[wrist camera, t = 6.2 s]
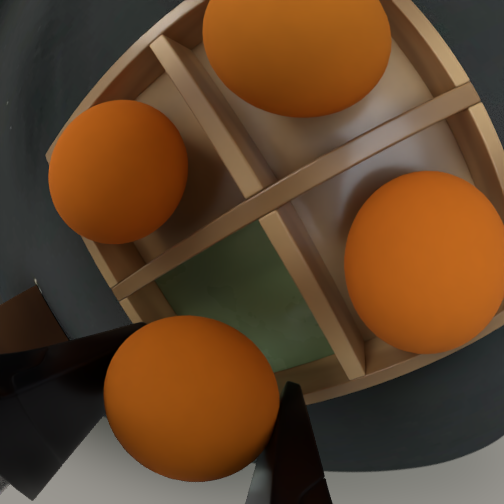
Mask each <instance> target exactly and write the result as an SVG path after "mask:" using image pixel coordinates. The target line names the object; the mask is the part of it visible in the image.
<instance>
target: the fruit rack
mask: <svg viewBox="0 0 504 504" xmlns="http://www.w3.org/2000/svg"><path fill="white" fill-rule="evenodd" d="M209 1H210V0H185V1H183V2H182V3H181V4H179V5H178V6H177V7H175V8H174V9H173V10H172V11H170V12H169V13H168V14H167V15H166V16H164V17H163V18H162V19H161V20H160V21H158V22H157V23H156V24H155V25H154V26H153V27H151V28H150V29H149V30H148V31H147V32H146V33H145V34H144V35H143V36H142V37H140V38H139V39H138V40H137V41H136V42H135V43H134V44H133V45H132V46H131V47H130V48H129V49H128V50H127V51H126V52H125V53H124V54H123V55H122V56H121V57H120V58H119V59H118V60H117V61H116V62H115V63H114V65H113V66H112V67H111V68H110V69H109V70H108V71H107V72H106V73H105V74H104V76H103V77H102V78H101V79H100V80H99V81H98V83H97V84H96V85H95V86H94V87H93V89H92V90H91V91H90V92H89V93H88V95H87V96H86V97H85V98H84V100H83V101H82V102H81V104H80V105H79V106H78V108H77V109H76V110H75V112H74V113H73V114H72V116H71V117H70V118H69V120H68V121H67V123H66V124H65V126H64V127H63V128H62V130H61V131H60V133H59V134H58V136H57V137H56V139H55V141H54V142H53V144H52V145H51V147H50V148H49V150H48V152H47V153H46V158H47V161H48V164H49V165H50V160H51V156H52V153H53V150H54V148H55V145H56V143H57V141H58V139H59V137H60V136H61V134H62V133H63V131H64V130H65V129H66V127H67V126H68V125H69V124H70V123H71V122H72V121H73V120H74V119H75V118H76V117H77V116H78V115H80V114H81V113H83V112H84V111H86V110H87V109H89V108H91V107H93V106H95V105H98V104H101V103H104V102H107V101H113V100H133V101H138V102H142V103H145V104H148V105H150V106H152V107H154V108H156V109H157V110H159V111H160V112H162V113H163V114H164V115H166V116H167V117H168V118H169V120H170V121H171V122H172V123H173V124H174V125H175V127H176V128H177V129H178V131H179V133H180V135H181V137H182V139H183V142H184V145H185V147H186V152H187V157H188V177H187V183H186V187H185V190H184V193H183V196H182V198H181V200H180V203H179V205H178V206H177V208H176V209H175V211H174V212H173V214H172V215H171V216H170V218H169V219H168V220H167V221H166V222H165V223H164V224H163V225H162V226H160V227H159V228H158V229H157V230H156V231H154V232H152V233H151V234H149V235H147V236H146V237H144V238H141V239H139V240H136V241H133V242H129V243H124V244H103V243H98V242H95V241H92V240H89V239H87V238H85V237H83V236H81V237H82V239H83V241H84V243H85V245H86V247H87V248H88V250H89V252H90V254H91V256H92V258H93V259H94V261H95V263H96V265H97V266H98V268H99V270H100V272H101V273H102V275H103V277H104V279H105V280H106V282H107V284H108V285H109V287H110V288H112V291H113V293H114V295H115V296H116V298H117V299H118V301H120V304H121V306H122V307H123V309H124V311H125V312H126V314H127V315H128V317H129V318H130V320H131V321H132V323H133V324H135V323H138V322H145V323H147V324H149V323H151V322H154V321H157V320H160V319H163V318H167V317H173V316H185V315H191V316H200V317H206V318H210V319H214V320H217V321H220V322H223V323H225V324H227V325H229V326H231V327H233V328H235V329H236V330H238V331H239V332H241V333H242V334H244V335H245V336H246V337H248V338H249V339H250V340H251V341H252V342H253V343H254V344H255V345H256V346H257V347H258V348H259V349H260V351H261V352H262V353H263V355H264V356H265V357H266V359H267V361H268V362H269V364H270V366H271V368H272V370H273V373H274V375H275V378H276V381H277V385H278V390H279V396H280V394H281V392H282V390H283V388H284V385H285V383H286V382H287V381H292V382H295V383H298V384H300V386H301V389H302V393H303V396H304V400H305V404H306V405H309V404H313V403H317V402H321V401H325V400H328V399H332V398H336V397H339V396H343V395H346V394H349V393H353V392H356V391H359V390H362V389H365V388H368V387H371V386H374V385H377V384H380V383H383V382H386V381H388V380H391V379H394V378H396V377H399V376H402V375H404V374H407V373H409V372H412V371H414V370H416V369H419V368H421V367H423V366H426V365H428V364H430V363H433V362H435V361H437V360H439V359H441V358H443V357H446V356H448V355H450V354H452V353H454V352H456V351H458V350H460V349H462V348H464V347H466V346H468V345H469V344H471V343H473V342H475V341H477V340H479V339H480V338H482V337H484V336H486V335H488V334H489V333H491V332H493V331H494V330H496V329H498V328H499V327H501V326H503V325H504V298H503V301H502V303H501V305H500V307H499V309H498V311H497V312H496V314H495V316H494V317H493V319H492V320H491V321H490V323H489V324H488V325H487V326H486V327H485V328H484V329H483V330H482V331H481V332H480V333H479V334H478V335H477V336H476V337H474V338H473V339H472V340H470V341H469V342H467V343H465V344H464V345H462V346H460V347H457V348H455V349H452V350H449V351H446V352H442V353H436V354H416V353H411V352H406V351H403V350H400V349H397V348H395V347H393V346H391V345H389V344H387V343H386V342H384V341H383V340H381V339H380V338H379V337H377V336H376V335H375V334H374V333H373V332H372V331H371V330H370V329H369V328H368V327H367V326H366V325H365V323H364V322H363V321H362V320H361V318H360V317H359V315H358V313H357V311H356V310H355V308H354V306H353V303H352V301H351V299H350V296H349V293H348V289H347V285H346V280H345V272H344V255H345V248H346V242H347V238H348V234H349V231H350V228H351V226H352V223H353V221H354V219H355V217H356V215H357V213H358V212H359V210H360V209H361V207H362V206H363V204H364V203H365V202H366V201H367V199H368V198H369V197H370V196H371V195H372V194H373V193H374V192H375V191H376V190H378V189H379V188H380V187H381V186H383V185H384V184H386V183H387V182H389V181H391V180H392V179H395V178H397V177H399V176H401V175H404V174H408V173H412V172H418V171H439V172H444V173H449V174H451V175H454V176H457V177H459V178H462V179H464V180H465V181H467V182H469V183H470V184H472V185H473V186H475V187H476V188H477V189H478V190H479V191H481V192H482V193H483V194H484V195H485V196H486V197H487V198H488V200H489V201H490V202H491V203H492V205H493V206H494V208H495V209H496V211H497V213H498V214H499V216H500V218H501V220H502V222H503V225H504V150H503V148H502V145H501V143H500V140H499V138H498V136H497V133H496V131H495V129H494V126H493V124H492V122H491V120H490V118H489V116H488V114H487V111H486V109H485V107H484V105H483V104H482V103H481V102H480V98H479V96H478V94H477V92H476V90H475V89H474V87H473V85H472V83H471V82H469V81H470V80H469V78H468V76H467V75H466V73H465V71H464V70H463V68H462V66H461V65H460V63H459V62H458V60H457V59H456V57H455V56H454V54H453V53H452V51H451V50H450V48H449V47H448V46H447V44H446V43H445V41H444V40H443V39H442V37H441V36H440V35H439V33H438V32H437V31H436V29H435V28H434V27H433V26H432V24H431V23H430V22H429V21H428V19H427V18H426V17H425V16H424V15H423V13H422V12H421V11H420V10H419V9H418V8H417V6H416V5H415V4H414V3H413V2H412V1H411V0H379V1H380V3H381V5H382V7H383V9H384V11H385V13H386V15H387V18H388V21H389V25H390V31H391V40H392V43H391V53H390V57H389V61H388V65H387V67H386V70H385V72H384V74H383V76H382V78H381V79H380V81H379V82H378V84H377V85H376V86H375V87H374V88H373V89H372V90H371V91H370V93H369V94H368V95H366V96H365V97H364V98H363V99H362V100H360V101H359V102H357V103H356V104H354V105H352V106H351V107H348V108H346V109H344V110H342V111H339V112H336V113H333V114H330V115H325V116H320V117H310V118H296V117H287V116H281V115H277V114H273V113H270V112H267V111H264V110H262V109H259V108H256V107H254V106H253V105H251V104H249V103H247V102H245V101H244V100H242V99H241V98H240V97H238V96H237V95H235V94H234V93H233V92H232V91H231V90H230V89H229V88H227V87H226V86H225V85H224V83H223V82H222V81H221V80H220V78H219V77H218V76H217V74H216V73H215V71H214V70H213V68H212V66H211V65H210V62H209V60H208V57H207V55H206V52H205V48H204V43H203V33H202V32H203V19H204V15H205V11H206V8H207V6H208V3H209Z"/></svg>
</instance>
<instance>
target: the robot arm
mask: <svg viewBox="0 0 504 504" xmlns="http://www.w3.org/2000/svg"><path fill="white" fill-rule="evenodd" d="M145 325H147V323H145V322H138V323H135V324H131V325H127V326H124V327H120V328H116V329H113V330H109V331H105V332H101V333H97V334H94V335H90V336H86V337H82V338H78V339H74V340H70V341H66V342H62V343H58V344H54V345H50V346H45V347H41V348H37V349H32V350H27V351H21V352H14V353H6V354H0V494H1V493H2V492H3V491H4V490H5V489H6V488H7V487H8V486H9V485H10V484H11V485H12V486H13V487H15V488H16V489H17V490H18V491H20V492H21V493H22V494H24V495H25V496H26V497H28V498H29V499H31V500H32V501H33V500H34V499H35V498H36V497H37V495H38V494H39V493H40V492H41V491H42V489H43V488H44V487H45V486H46V484H47V483H48V482H49V481H50V480H51V478H52V477H53V476H54V475H55V474H56V472H57V471H58V469H60V467H61V466H62V464H63V463H64V462H65V461H66V460H67V459H68V458H69V456H70V455H71V454H72V453H73V452H74V450H75V449H76V448H77V447H78V445H79V444H80V443H81V442H82V441H83V440H84V438H85V437H86V436H87V435H88V433H89V432H90V431H91V430H92V428H94V426H95V425H96V424H97V423H98V422H99V420H100V419H101V418H102V417H103V416H104V414H105V413H106V412H105V406H104V381H105V377H106V373H107V370H108V367H109V364H110V362H111V360H112V358H113V356H114V355H115V353H116V352H117V350H118V349H119V347H120V346H121V345H122V344H123V342H124V341H125V340H126V339H127V338H128V337H129V336H131V335H132V334H133V333H134V332H136V331H137V330H138V329H140V328H142V327H144V326H145ZM279 400H280V406H279V411H278V416H277V420H276V424H275V427H274V430H273V433H272V436H271V438H270V440H269V443H268V445H267V446H266V448H265V449H264V450H263V451H262V453H261V454H260V455H259V456H258V458H257V462H256V466H255V470H254V474H253V478H252V482H251V485H250V489H249V492H248V496H247V499H246V503H245V504H332V500H331V497H330V494H329V490H328V486H327V483H326V479H325V478H324V471H323V468H322V464H321V460H320V456H319V452H318V449H317V445H316V441H315V437H314V433H313V430H312V426H311V422H310V419H309V415H308V411H307V407H306V404H305V400H304V396H303V393H302V389H301V386H300V384H298V383H295V382H292V381H287V382H286V383H285V385H284V388H283V390H282V392H281V394H280V396H279Z"/></svg>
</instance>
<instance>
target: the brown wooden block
mask: <svg viewBox="0 0 504 504" xmlns="http://www.w3.org/2000/svg"><path fill="white" fill-rule="evenodd" d="M66 341H69V340H68V338H67V337H66V335H65V334H64V332H63V330H62V329H61V327H60V326H59V324H58V322H57V321H56V319H55V318H54V316H53V314H52V313H51V311H50V309H49V307H48V306H47V304H46V302H45V300H44V298H43V297H42V295H41V293H40V291H39V289H38V287H37V286H36V285H35V286H33V287H32V288H30V289H28V290H26V291H24V292H23V293H21V294H19V295H17V296H15V297H14V298H12V299H10V300H8V301H7V302H5V303H3V304H1V305H0V354H6V353H14V352H21V351H27V350H32V349H37V348H41V347H45V346H50V345H54V344H58V343H62V342H66Z"/></svg>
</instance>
